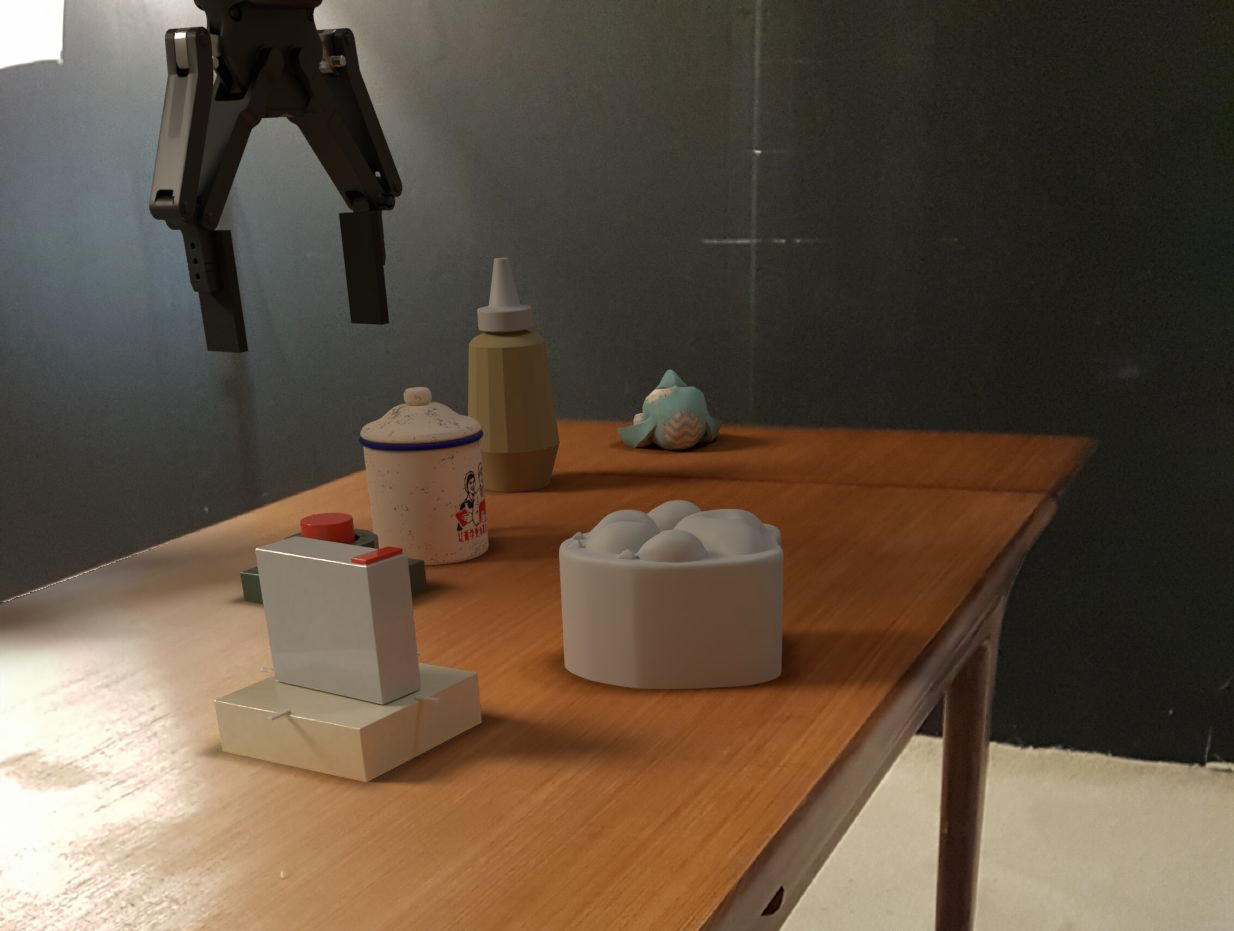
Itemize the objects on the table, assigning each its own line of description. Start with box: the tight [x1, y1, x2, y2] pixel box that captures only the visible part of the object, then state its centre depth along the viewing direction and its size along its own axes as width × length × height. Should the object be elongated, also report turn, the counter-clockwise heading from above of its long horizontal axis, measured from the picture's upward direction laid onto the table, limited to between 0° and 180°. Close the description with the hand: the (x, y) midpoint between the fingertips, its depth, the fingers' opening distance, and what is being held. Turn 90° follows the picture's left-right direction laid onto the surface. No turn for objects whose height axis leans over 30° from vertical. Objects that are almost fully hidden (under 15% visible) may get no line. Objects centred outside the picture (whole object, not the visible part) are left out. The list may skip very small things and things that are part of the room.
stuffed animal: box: [615, 369, 724, 451], centre depth 152 cm, size 11×7×12 cm
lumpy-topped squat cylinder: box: [558, 499, 785, 690], centre depth 93 cm, size 10×13×9 cm
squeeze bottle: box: [467, 257, 560, 493], centre depth 134 cm, size 8×8×18 cm
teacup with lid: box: [358, 386, 490, 567], centre depth 118 cm, size 12×9×12 cm
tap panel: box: [213, 651, 483, 783], centre depth 85 cm, size 12×12×3 cm
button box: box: [239, 528, 428, 605], centre depth 109 cm, size 10×8×4 cm
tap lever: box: [254, 536, 421, 705], centre depth 82 cm, size 8×3×7 cm, turn 54°
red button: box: [299, 512, 356, 544], centre depth 108 cm, size 4×4×2 cm
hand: (302, 337), depth 101 cm, fingers open, 13 cm apart
